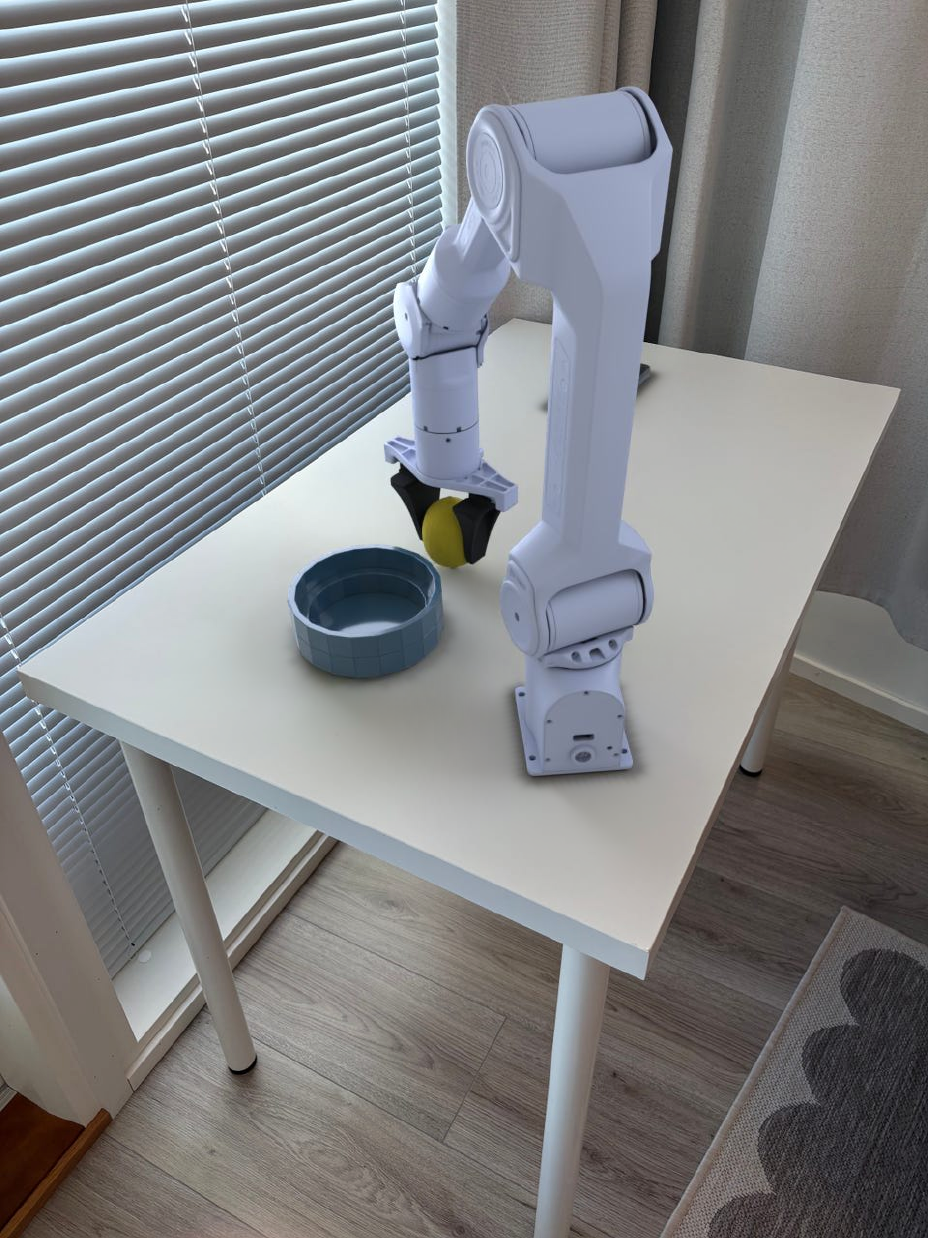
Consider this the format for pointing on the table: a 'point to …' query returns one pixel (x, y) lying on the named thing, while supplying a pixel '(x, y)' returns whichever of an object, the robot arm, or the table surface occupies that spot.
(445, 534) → the lemon
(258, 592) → the table surface
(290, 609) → the bowl
